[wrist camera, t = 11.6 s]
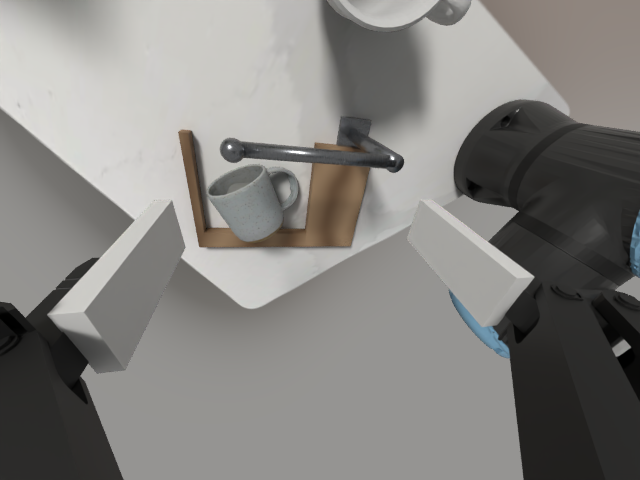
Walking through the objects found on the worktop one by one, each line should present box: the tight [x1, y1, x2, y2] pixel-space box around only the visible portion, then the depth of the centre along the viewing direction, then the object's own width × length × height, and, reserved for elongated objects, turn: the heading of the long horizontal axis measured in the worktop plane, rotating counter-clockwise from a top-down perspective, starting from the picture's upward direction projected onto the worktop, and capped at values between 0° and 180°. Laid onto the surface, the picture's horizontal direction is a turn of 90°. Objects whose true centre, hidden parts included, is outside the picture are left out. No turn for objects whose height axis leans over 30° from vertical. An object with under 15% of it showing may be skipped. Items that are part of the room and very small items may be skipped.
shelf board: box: [178, 130, 370, 247], centre depth 35 cm, size 24×16×2 cm, turn 82°
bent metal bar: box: [220, 116, 404, 173], centre depth 25 cm, size 17×4×14 cm, turn 82°
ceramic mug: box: [206, 164, 298, 243], centre depth 31 cm, size 11×8×8 cm
